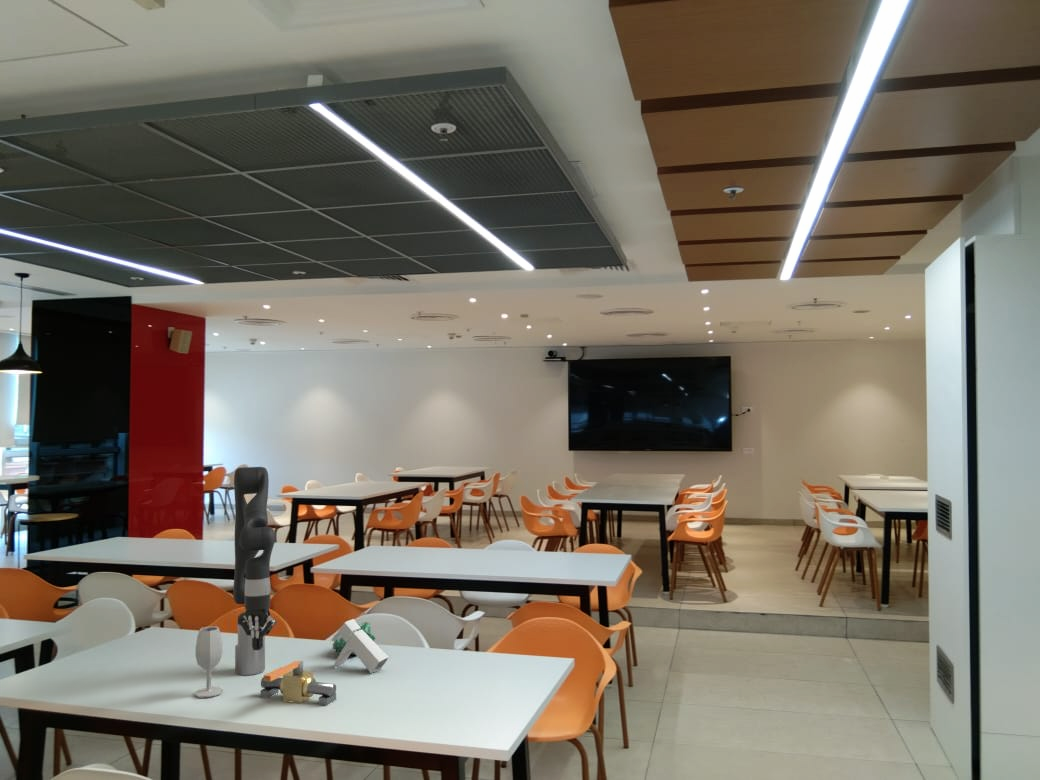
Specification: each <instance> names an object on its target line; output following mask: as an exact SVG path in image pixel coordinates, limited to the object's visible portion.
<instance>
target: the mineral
mask: <svg viewBox="0 0 1040 780" xmlns="http://www.w3.org/2000/svg"><path fill="white" fill-rule="evenodd" d="M357 624H358V623H357ZM358 625H359V626H360V628H361V629H360V630H363V631H364V632H365V633H366V634H367V635H368V636H369V637H370V638H371V639H372V640H373V641H374V642H375V640H376V637H375V635H374V634H372V633H371V629H372V626H371V625H372V624H371V622H368V621H364V622H361V623H359V624H358ZM346 643H347V642H346V641H345V640H344V639H343V638H342V637H341V636H340V637H339V639H338V640H335V641H333V643H332V649H333V650H335V653H336V654H340V653H341V651H342V649H343V648H344V646H345V645H346ZM350 655H354V656H357V655H356V654H355V653H354V652H353V651H352V653H351V654H350Z"/></svg>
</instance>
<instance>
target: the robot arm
mask: <svg viewBox="0 0 1040 780" xmlns="http://www.w3.org/2000/svg"><path fill="white" fill-rule="evenodd" d="M269 482H270V481H269V472H268V470H267V468H266V467H265V466H264V467H263V466H248V467H247V466H246V467H243V466H241V467H237V468H236V470H235V471H234V475H233V490H234V506H235V507H234V508H235V511H234V512H235V514H234V515H235V517H234V519H235V520H234V577H233V589H232V591H233V592H232V593H233V594H232V595H233V601H234V603H235V604H236V605H244V610H245V611H244V612H242V613H240V614H238V616H237V644H235V645H234V646H235V647H234V654H235V655H234V659H235V660H234V661H235V662H234V664H235V665H234V671H235V672H234V673H237V674H238V675H240V676H251V675H252V676H253V675H257V674H261V673H263V672H264V671H265V670H266V636H267V635H269V633H270V632H271V631H272V630H273V628H274V626H275V625H276V623H277V619H275V618H272V616H271V612H270V607H271V581H270V580H271V579H270V568H271V567H270V565H271V564H270V563H271V556H272V552H273V549H274V546H275V542H276V538H277V537H276V531H275V530H274V529H273V527H271V526H268V525H269V520H268V518H269V517H268V509H267V508H268V507H267V506H268V499H269ZM254 494H255V495H254ZM245 495H254V496H253V497H251V499H250V501H248V502H247V499H246V496H245ZM259 551H262V553H261V554H260V555H258V553H259ZM257 555H258V556H257ZM260 672H261V673H260Z"/></svg>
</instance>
